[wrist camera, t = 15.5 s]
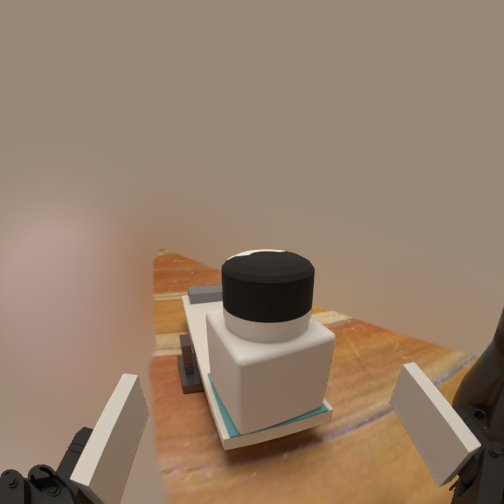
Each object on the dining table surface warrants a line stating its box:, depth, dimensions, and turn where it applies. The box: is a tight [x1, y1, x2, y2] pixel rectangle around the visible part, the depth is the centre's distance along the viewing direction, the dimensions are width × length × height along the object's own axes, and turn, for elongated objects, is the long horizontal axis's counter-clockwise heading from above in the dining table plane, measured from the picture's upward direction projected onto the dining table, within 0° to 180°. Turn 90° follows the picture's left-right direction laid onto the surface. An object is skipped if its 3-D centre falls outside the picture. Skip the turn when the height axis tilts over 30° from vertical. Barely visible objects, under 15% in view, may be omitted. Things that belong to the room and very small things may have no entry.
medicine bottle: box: [206, 250, 335, 435], centre depth 19 cm, size 7×7×12 cm
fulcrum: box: [177, 334, 205, 393], centre depth 31 cm, size 6×13×5 cm, turn 108°
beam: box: [182, 284, 333, 450], centre depth 31 cm, size 28×9×3 cm, turn 18°
